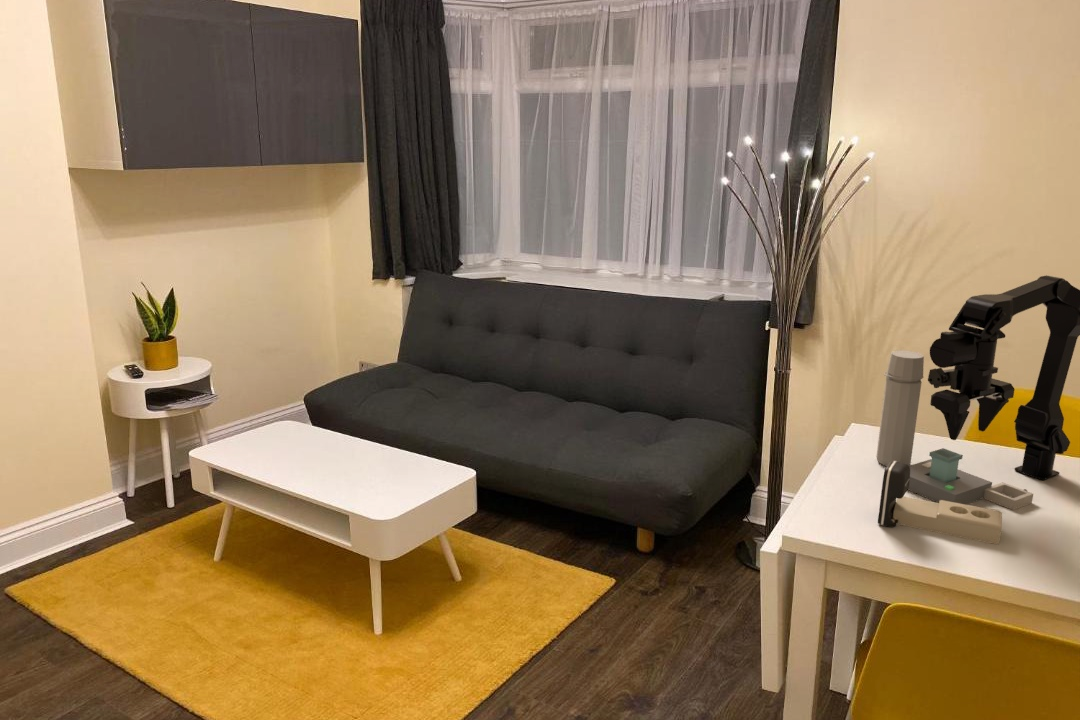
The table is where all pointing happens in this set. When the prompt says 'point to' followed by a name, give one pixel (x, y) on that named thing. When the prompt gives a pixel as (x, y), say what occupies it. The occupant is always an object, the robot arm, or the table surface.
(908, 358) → the water bottle
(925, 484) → the port panel
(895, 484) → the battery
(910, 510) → the electrical outlet
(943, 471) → the plug
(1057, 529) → the table surface
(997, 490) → the beige frame with handle
